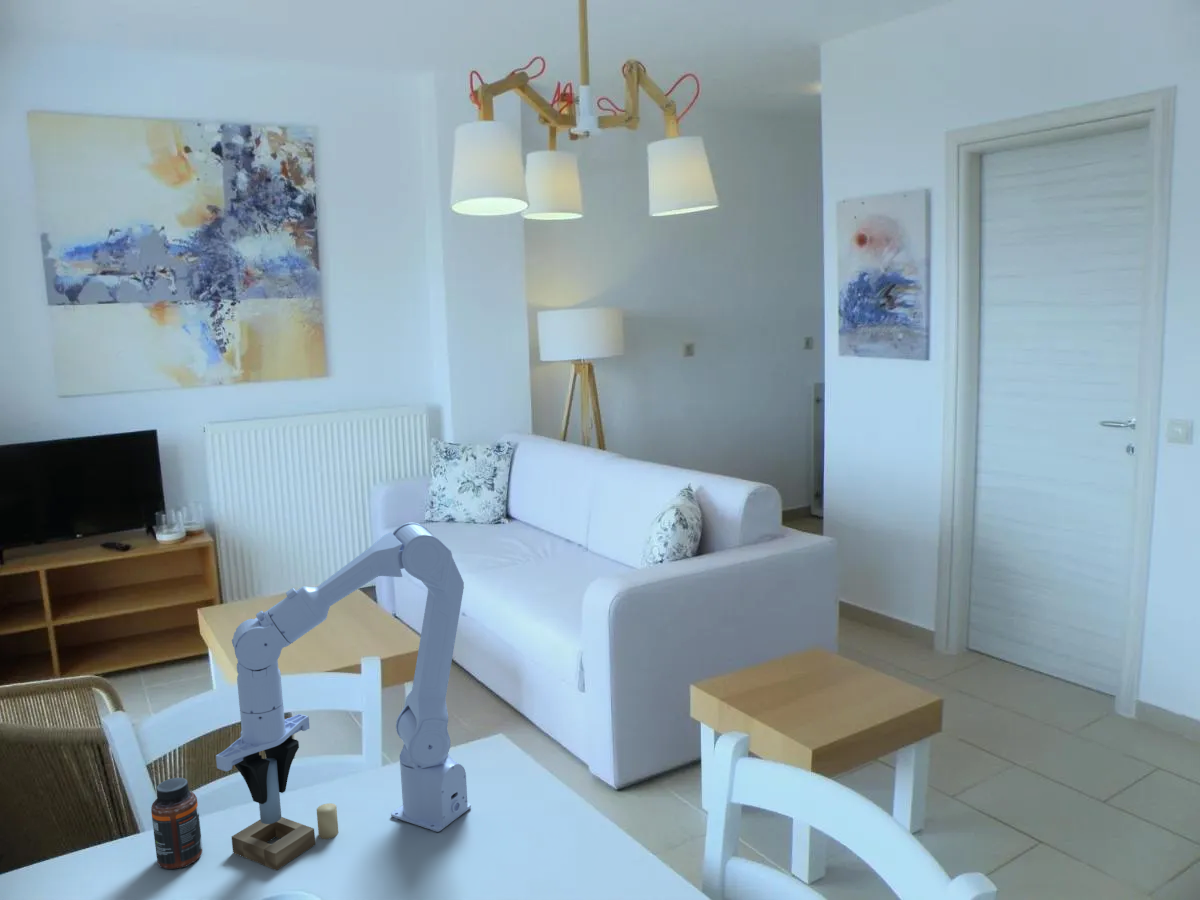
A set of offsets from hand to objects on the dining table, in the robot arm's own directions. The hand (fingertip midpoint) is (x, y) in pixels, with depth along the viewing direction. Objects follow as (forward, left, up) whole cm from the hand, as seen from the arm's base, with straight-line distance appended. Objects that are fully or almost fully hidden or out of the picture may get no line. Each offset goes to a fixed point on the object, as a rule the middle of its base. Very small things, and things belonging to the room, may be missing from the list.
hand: (269, 795), depth 133 cm
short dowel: (-4, -7, -8) cm, 11 cm away
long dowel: (0, 0, -3) cm, 4 cm away
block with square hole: (0, 0, -8) cm, 8 cm away
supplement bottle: (+10, +8, -8) cm, 15 cm away
